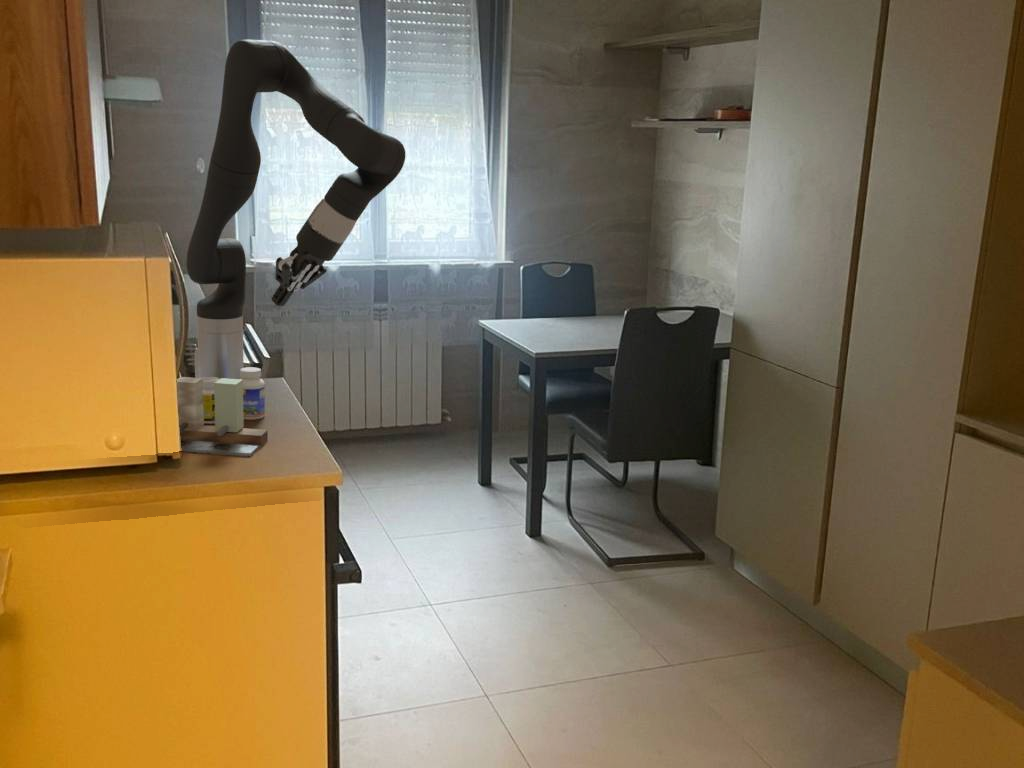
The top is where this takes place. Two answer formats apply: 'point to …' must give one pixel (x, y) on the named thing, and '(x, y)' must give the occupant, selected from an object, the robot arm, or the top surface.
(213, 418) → the supplement bottle
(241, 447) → the hole plate
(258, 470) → the top surface
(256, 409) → the pill bottle
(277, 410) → the top surface
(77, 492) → the top surface
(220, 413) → the slide leg
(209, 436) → the rail
